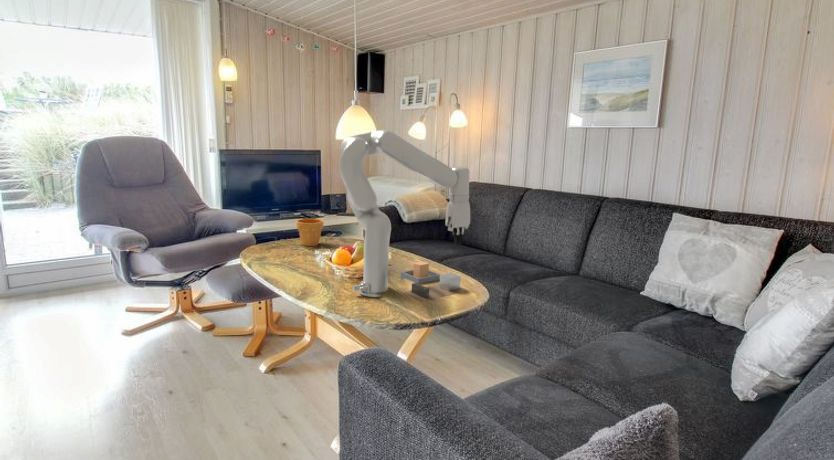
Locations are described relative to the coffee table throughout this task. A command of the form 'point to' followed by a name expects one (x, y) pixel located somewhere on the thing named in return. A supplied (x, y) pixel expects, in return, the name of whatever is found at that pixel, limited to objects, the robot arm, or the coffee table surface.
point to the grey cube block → (450, 281)
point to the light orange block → (421, 269)
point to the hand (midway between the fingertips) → (457, 243)
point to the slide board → (430, 292)
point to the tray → (431, 277)
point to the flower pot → (309, 231)
